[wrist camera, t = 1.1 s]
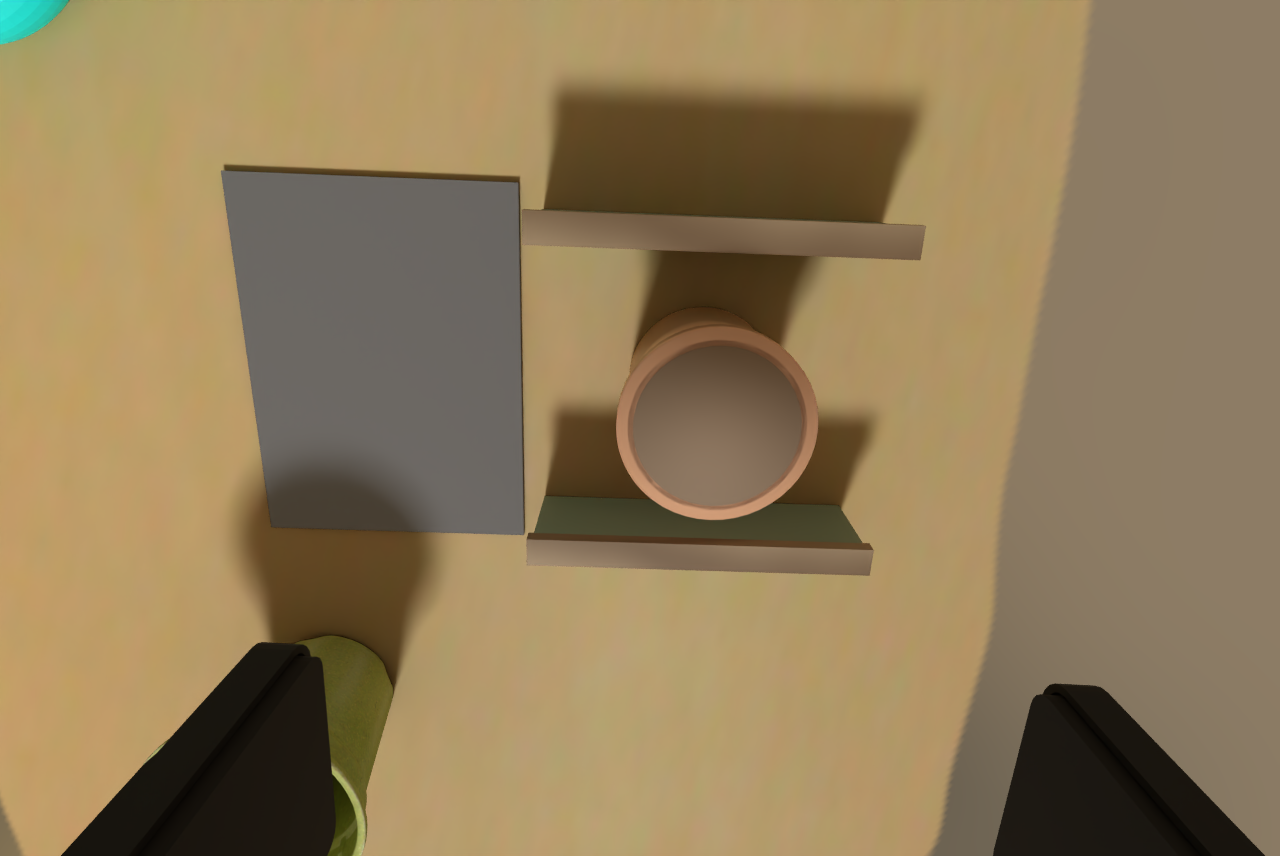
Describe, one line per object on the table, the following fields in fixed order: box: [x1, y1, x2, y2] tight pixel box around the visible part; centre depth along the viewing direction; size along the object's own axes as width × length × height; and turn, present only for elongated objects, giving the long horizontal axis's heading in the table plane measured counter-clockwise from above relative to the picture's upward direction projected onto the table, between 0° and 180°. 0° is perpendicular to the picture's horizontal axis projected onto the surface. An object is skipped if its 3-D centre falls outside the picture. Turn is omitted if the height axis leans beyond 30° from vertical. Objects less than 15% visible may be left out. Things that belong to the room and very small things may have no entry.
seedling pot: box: [616, 307, 818, 520], centre depth 29 cm, size 7×7×7 cm
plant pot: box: [143, 635, 393, 856], centre depth 33 cm, size 9×9×9 cm
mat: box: [221, 171, 524, 535], centre depth 32 cm, size 16×12×1 cm
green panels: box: [522, 209, 926, 576], centre depth 30 cm, size 14×14×5 cm
